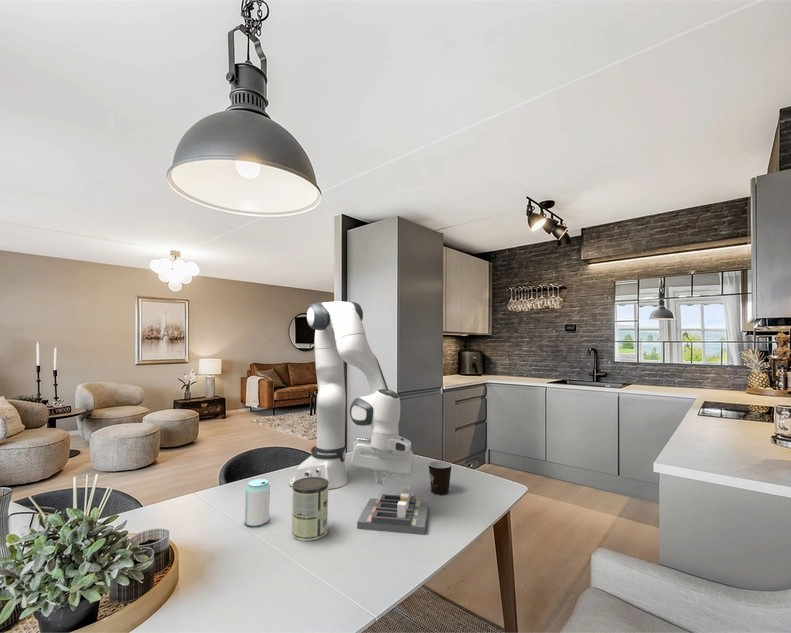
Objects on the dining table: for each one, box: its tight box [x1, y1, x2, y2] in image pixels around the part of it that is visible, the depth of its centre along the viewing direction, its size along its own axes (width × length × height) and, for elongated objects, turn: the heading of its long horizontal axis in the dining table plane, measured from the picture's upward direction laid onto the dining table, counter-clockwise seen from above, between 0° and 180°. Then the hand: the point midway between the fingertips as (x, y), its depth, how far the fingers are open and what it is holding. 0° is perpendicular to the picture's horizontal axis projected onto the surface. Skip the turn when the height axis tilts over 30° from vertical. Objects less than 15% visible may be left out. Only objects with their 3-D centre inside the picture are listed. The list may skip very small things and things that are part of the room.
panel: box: [356, 493, 429, 535], centre depth 123 cm, size 20×18×4 cm
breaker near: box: [397, 501, 406, 519], centre depth 117 cm, size 2×2×5 cm
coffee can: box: [291, 477, 329, 542], centre depth 114 cm, size 10×10×14 cm
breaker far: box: [402, 485, 412, 501], centre depth 129 cm, size 2×2×5 cm
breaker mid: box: [400, 492, 409, 509], centre depth 123 cm, size 2×2×5 cm
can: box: [244, 478, 271, 527], centre depth 119 cm, size 7×7×12 cm
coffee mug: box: [428, 460, 452, 496], centre depth 147 cm, size 12×9×10 cm
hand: (380, 484), depth 126 cm, fingers closed
